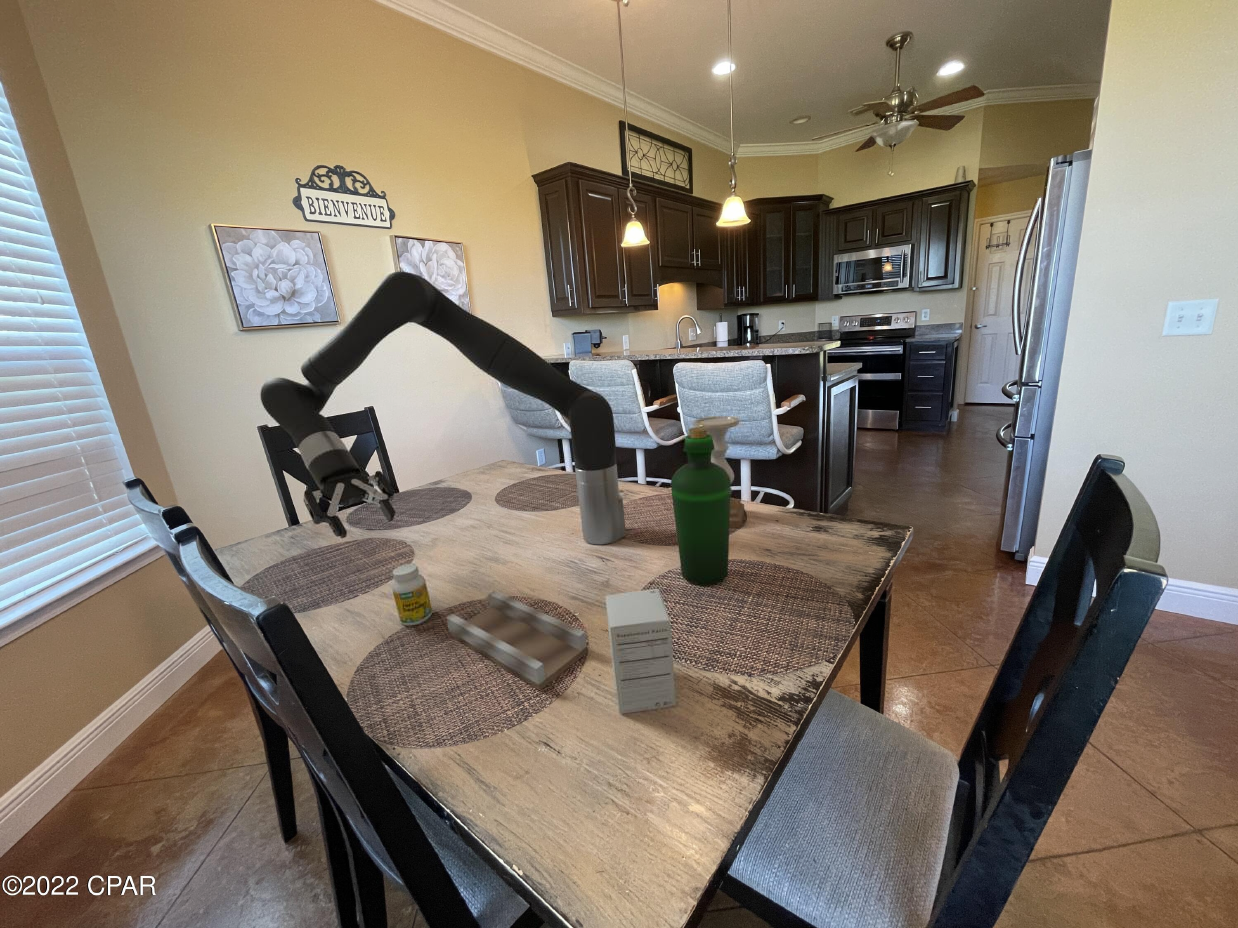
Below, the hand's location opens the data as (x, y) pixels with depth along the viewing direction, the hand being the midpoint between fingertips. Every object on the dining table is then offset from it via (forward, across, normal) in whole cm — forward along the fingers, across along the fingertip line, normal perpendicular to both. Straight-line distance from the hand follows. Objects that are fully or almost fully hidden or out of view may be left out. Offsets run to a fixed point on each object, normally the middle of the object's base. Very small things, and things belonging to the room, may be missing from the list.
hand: (369, 527), depth 87 cm
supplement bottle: (+19, 0, +3) cm, 19 cm away
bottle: (+44, +38, -23) cm, 63 cm away
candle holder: (+37, +64, -15) cm, 75 cm away
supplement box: (+50, +8, -28) cm, 58 cm away
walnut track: (+34, +5, -13) cm, 36 cm away
